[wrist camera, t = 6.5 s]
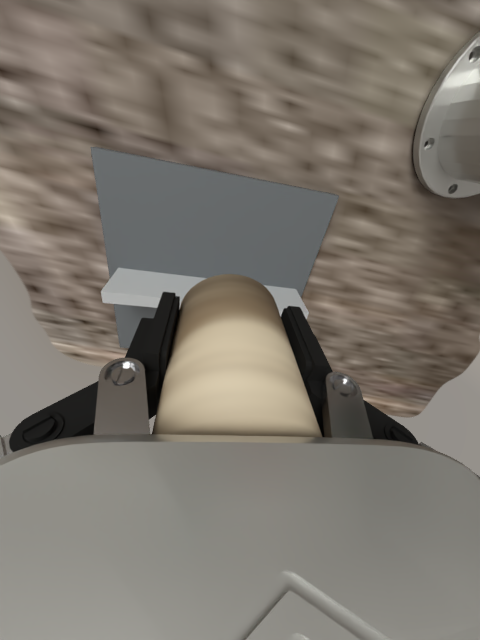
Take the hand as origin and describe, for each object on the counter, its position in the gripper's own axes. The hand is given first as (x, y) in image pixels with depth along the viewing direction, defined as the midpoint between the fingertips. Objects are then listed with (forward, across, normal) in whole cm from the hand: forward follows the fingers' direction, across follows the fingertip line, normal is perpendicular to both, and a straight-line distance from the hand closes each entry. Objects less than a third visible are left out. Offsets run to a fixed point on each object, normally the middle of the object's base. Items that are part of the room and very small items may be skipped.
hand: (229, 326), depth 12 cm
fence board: (+17, 0, +6) cm, 18 cm away
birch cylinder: (+1, 0, 0) cm, 1 cm away
